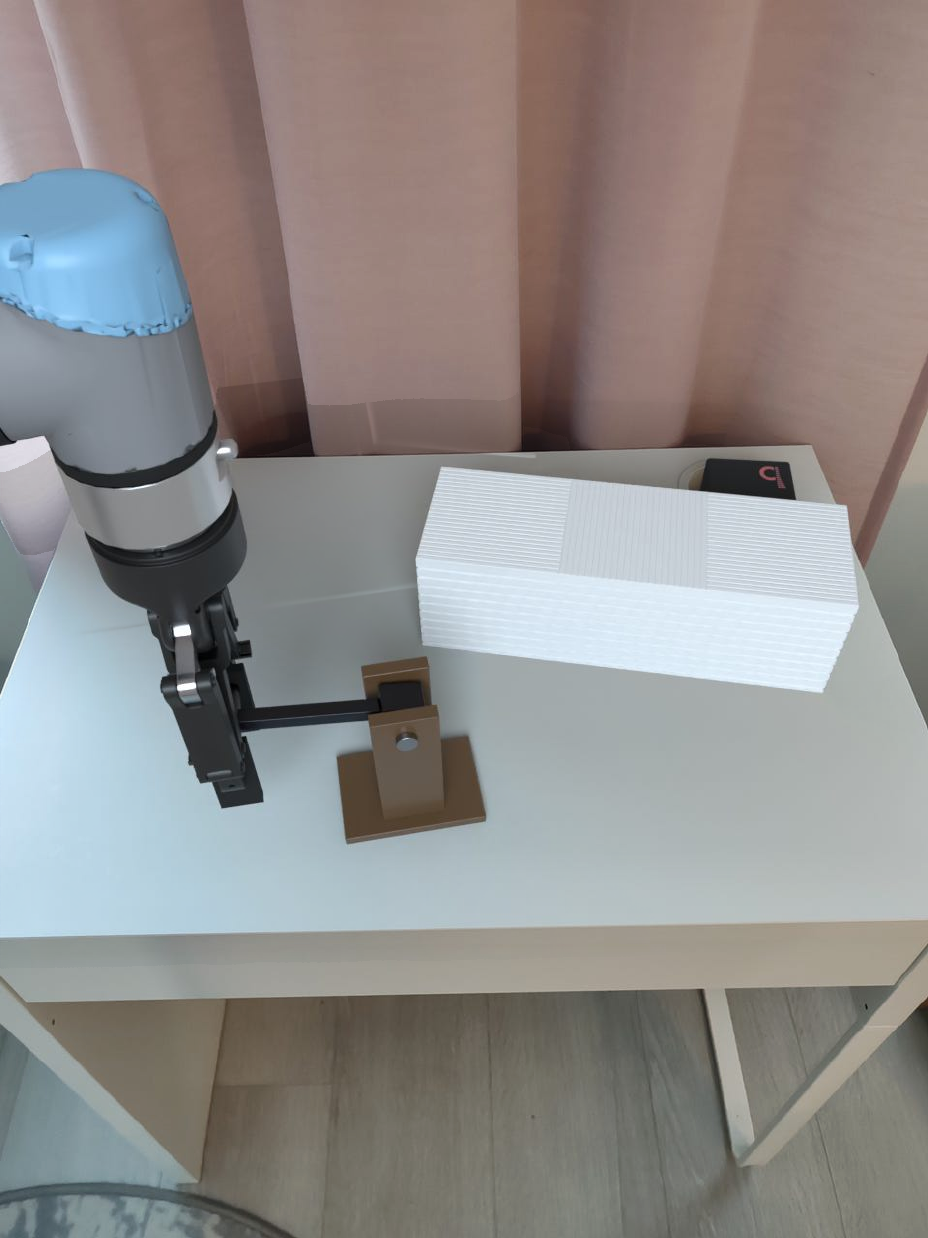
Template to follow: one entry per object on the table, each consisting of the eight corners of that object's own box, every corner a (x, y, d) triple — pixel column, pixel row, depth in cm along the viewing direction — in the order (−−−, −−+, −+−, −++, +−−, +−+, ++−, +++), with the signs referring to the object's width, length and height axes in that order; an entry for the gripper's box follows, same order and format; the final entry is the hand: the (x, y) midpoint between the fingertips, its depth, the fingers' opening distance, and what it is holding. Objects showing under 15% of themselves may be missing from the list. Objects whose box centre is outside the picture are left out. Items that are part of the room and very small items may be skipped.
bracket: (347, 848, 71) (325, 747, 61) (338, 766, 75) (316, 660, 65) (486, 825, 72) (486, 722, 62) (468, 745, 76) (466, 638, 66)
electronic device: (704, 580, 87) (714, 539, 83) (697, 498, 94) (706, 457, 90) (791, 585, 86) (805, 544, 83) (778, 502, 93) (790, 461, 90)
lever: (217, 765, 62) (214, 743, 60) (216, 702, 65) (213, 679, 63) (426, 747, 65) (429, 725, 63) (415, 686, 68) (417, 664, 66)
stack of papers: (422, 649, 82) (415, 558, 74) (445, 558, 89) (441, 465, 81) (820, 697, 78) (859, 606, 70) (812, 598, 85) (846, 504, 77)
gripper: (241, 631, 44) (307, 877, 61) (231, 387, 55) (289, 652, 73) (64, 655, 43) (183, 897, 60) (92, 402, 55) (185, 667, 72)
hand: (241, 763), depth 67 cm, fingers closed on lever, 5 cm apart
